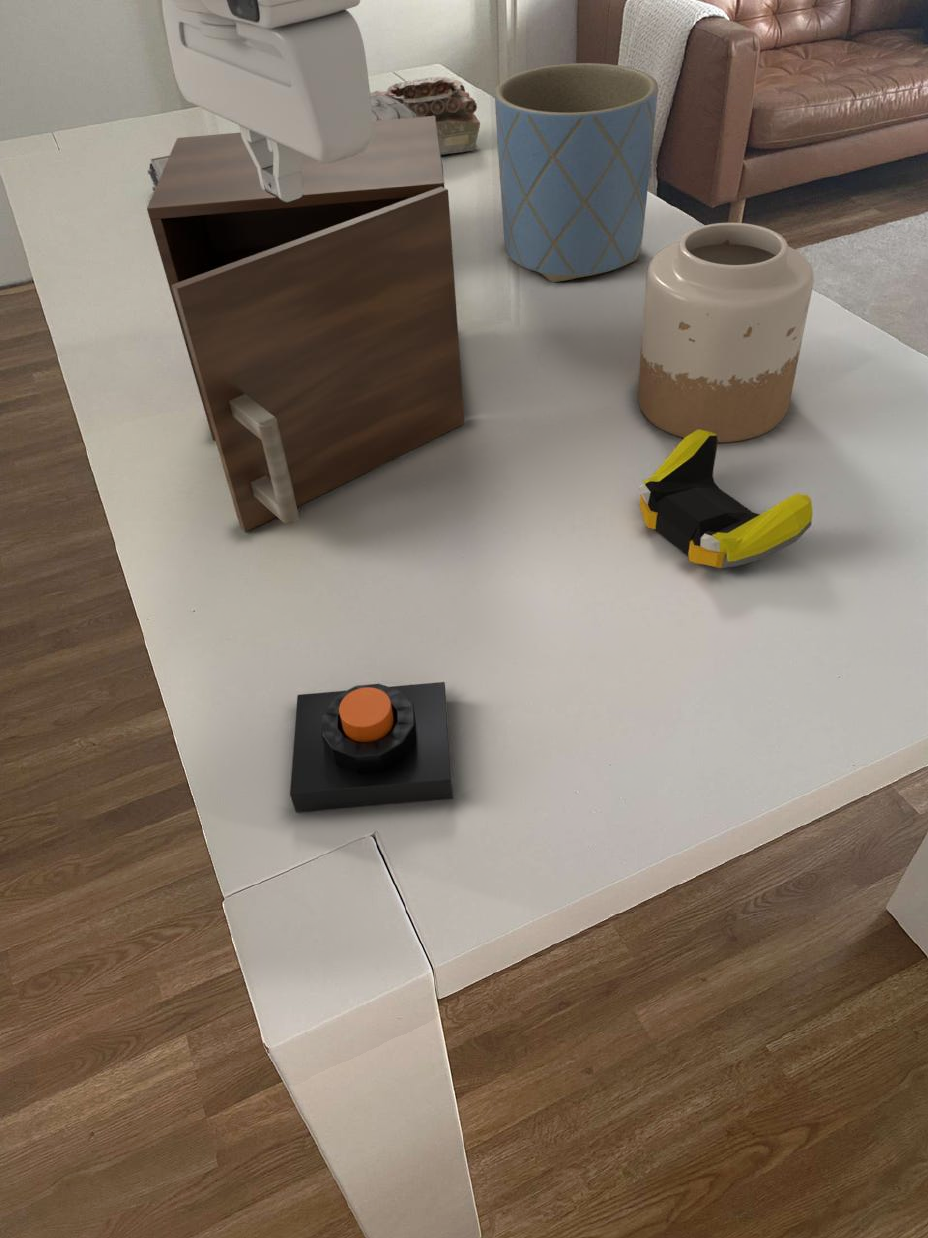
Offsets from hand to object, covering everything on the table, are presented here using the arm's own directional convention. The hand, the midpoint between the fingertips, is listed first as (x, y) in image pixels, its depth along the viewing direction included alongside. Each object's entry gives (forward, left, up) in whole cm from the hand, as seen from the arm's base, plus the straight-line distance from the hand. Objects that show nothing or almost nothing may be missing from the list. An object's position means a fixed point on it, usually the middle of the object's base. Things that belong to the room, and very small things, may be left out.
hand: (283, 194), depth 69 cm
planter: (+29, +53, -30) cm, 68 cm away
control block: (+3, -27, -30) cm, 40 cm away
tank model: (+10, +93, -30) cm, 98 cm away
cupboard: (-1, +25, -30) cm, 39 cm away
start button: (+3, -27, -27) cm, 38 cm away
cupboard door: (+3, +6, -30) cm, 31 cm away
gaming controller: (+33, -5, -30) cm, 45 cm away
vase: (+38, +15, -30) cm, 51 cm away
